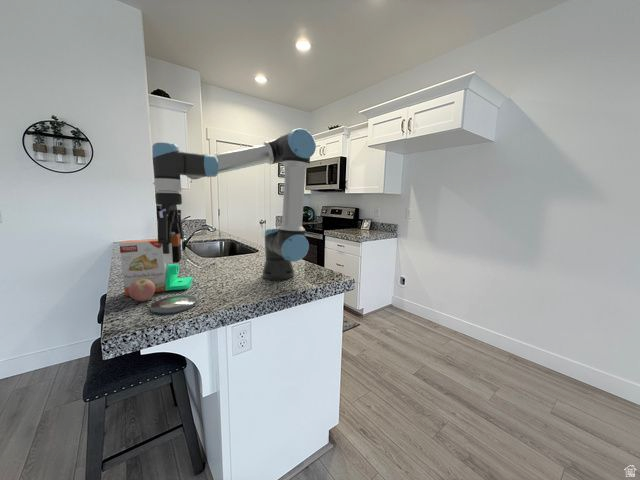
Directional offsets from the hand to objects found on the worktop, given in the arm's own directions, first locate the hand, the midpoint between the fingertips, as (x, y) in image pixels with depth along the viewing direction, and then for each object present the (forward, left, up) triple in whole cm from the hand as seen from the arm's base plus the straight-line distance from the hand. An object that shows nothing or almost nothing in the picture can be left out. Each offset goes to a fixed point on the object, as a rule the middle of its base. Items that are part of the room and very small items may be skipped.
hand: (172, 260), depth 90 cm
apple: (+13, -6, -16) cm, 22 cm away
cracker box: (+16, -16, -16) cm, 28 cm away
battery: (0, 0, -1) cm, 1 cm away
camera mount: (+6, -20, -16) cm, 26 cm away
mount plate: (0, +1, -16) cm, 16 cm away
